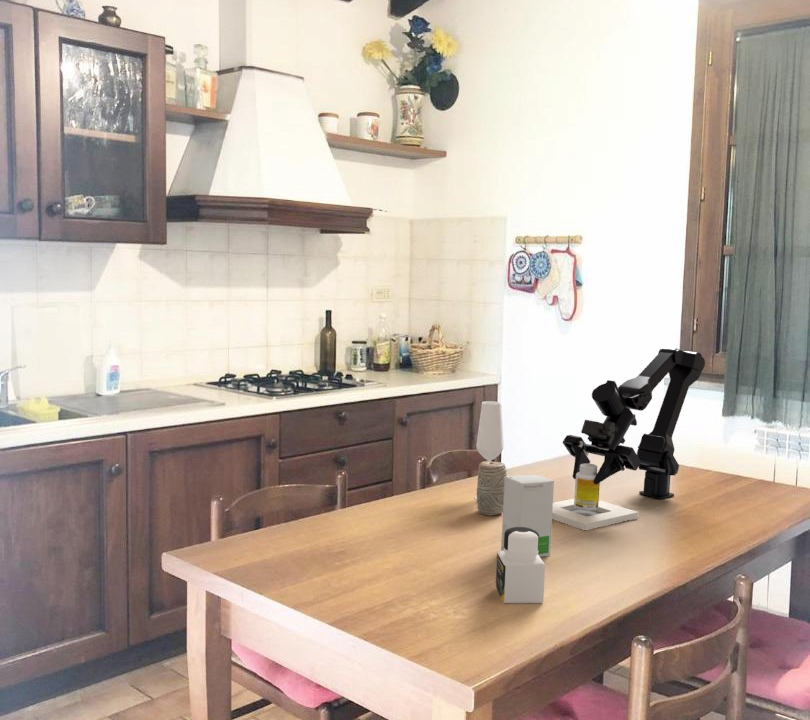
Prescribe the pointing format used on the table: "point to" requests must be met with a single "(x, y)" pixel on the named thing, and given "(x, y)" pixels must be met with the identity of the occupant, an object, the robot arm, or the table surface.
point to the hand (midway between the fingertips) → (584, 480)
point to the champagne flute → (490, 431)
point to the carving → (491, 487)
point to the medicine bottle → (520, 567)
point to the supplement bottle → (586, 488)
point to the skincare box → (529, 507)
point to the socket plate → (591, 514)
